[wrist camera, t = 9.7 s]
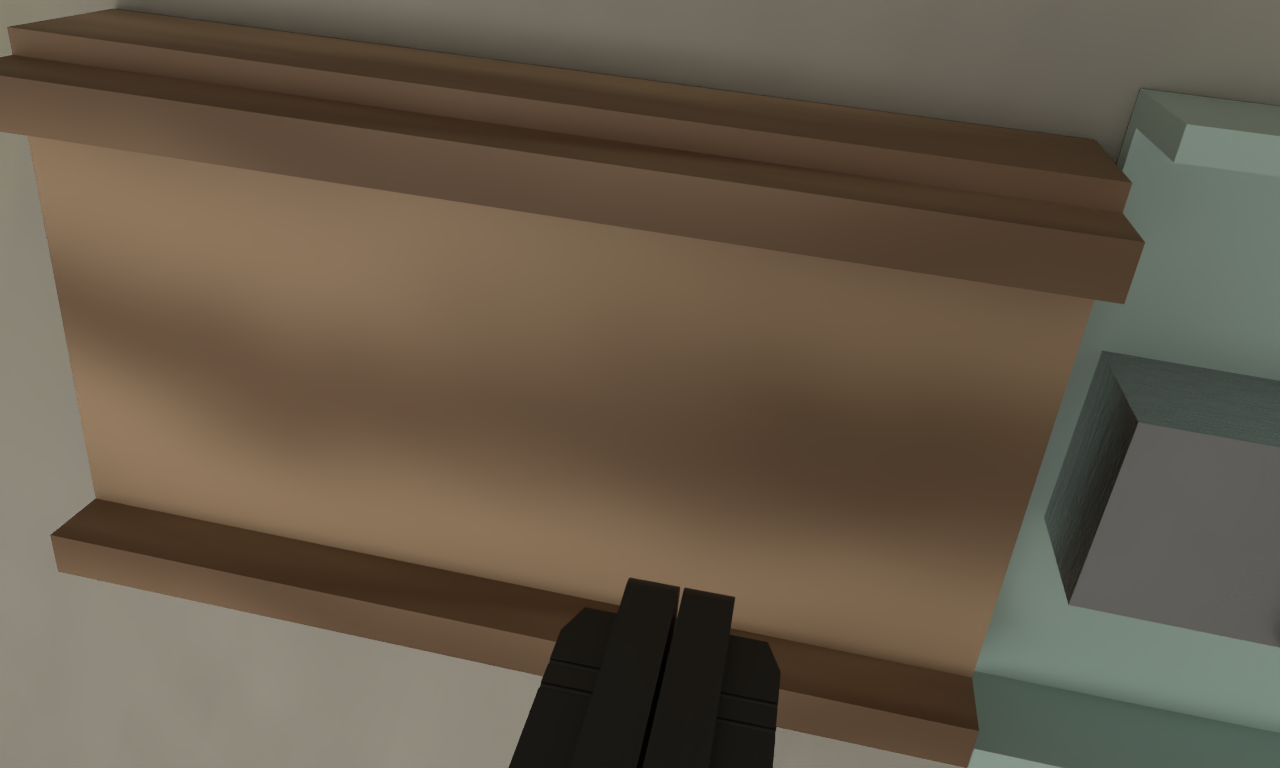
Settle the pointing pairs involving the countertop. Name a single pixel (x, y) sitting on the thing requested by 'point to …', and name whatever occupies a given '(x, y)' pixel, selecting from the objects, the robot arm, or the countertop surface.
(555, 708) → the robot arm
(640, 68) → the countertop surface
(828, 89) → the countertop surface
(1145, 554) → the offcut
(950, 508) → the slotted board
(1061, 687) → the chip tray
